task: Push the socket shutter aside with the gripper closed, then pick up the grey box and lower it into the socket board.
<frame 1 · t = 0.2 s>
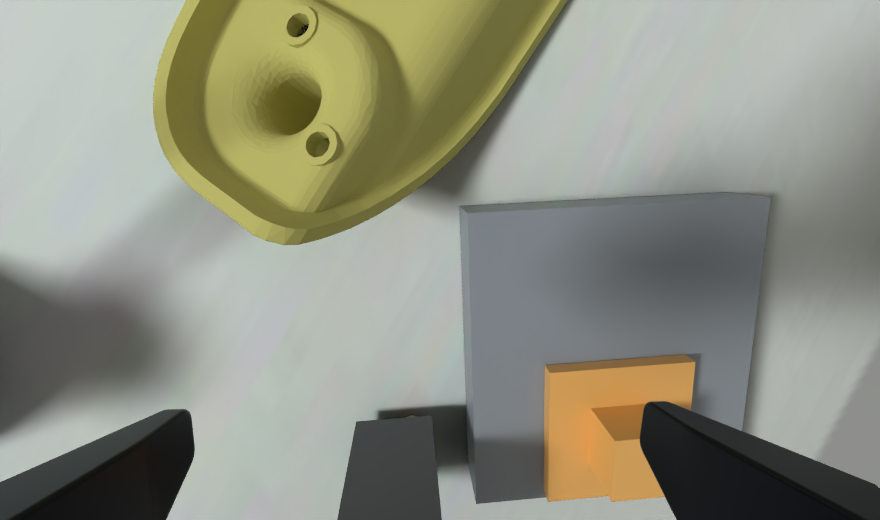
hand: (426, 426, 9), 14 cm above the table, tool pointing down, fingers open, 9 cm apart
grey box: (397, 439, 25), on the table
socket shutter: (628, 444, 20), point 5 cm above the table, slide at 0.0 cm
socket board: (590, 335, 24), on the table
plastic component: (386, 14, 20), on the table
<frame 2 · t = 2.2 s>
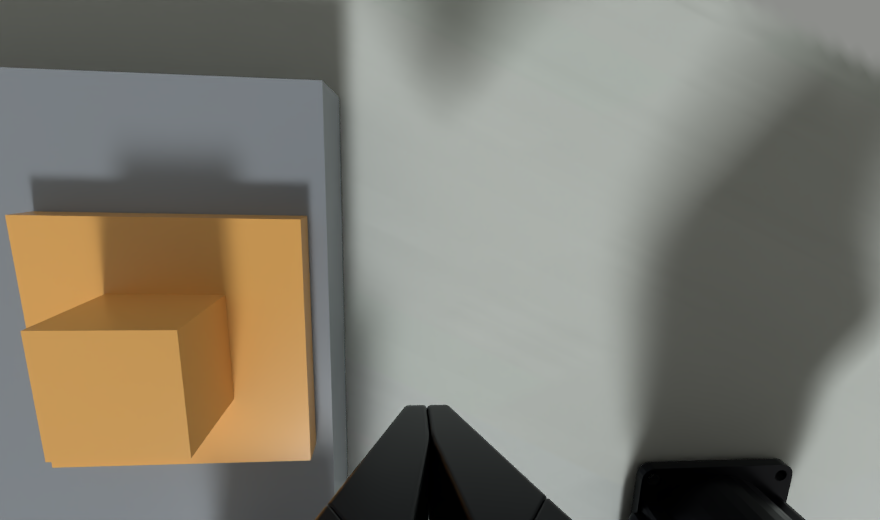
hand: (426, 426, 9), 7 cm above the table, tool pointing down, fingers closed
socket shutter: (153, 362, 11), point 5 cm above the table, slide at 0.0 cm
socket board: (122, 303, 15), on the table
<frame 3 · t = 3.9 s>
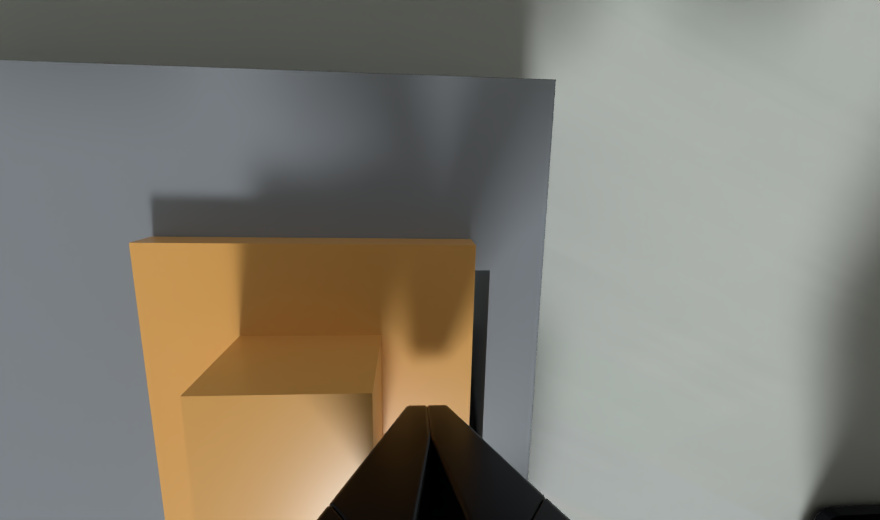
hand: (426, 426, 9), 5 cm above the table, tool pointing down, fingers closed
socket shutter: (305, 420, 9), point 5 cm above the table, slide at 1.2 cm, touching gripper
socket board: (264, 334, 13), on the table
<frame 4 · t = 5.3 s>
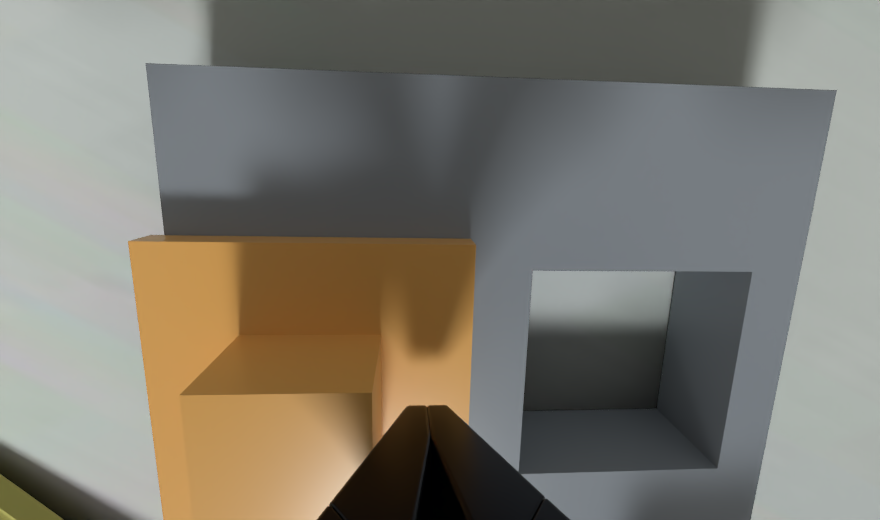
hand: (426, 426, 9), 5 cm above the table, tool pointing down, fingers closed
socket shutter: (304, 420, 9), point 5 cm above the table, slide at 7.8 cm, touching gripper
socket board: (476, 332, 14), on the table
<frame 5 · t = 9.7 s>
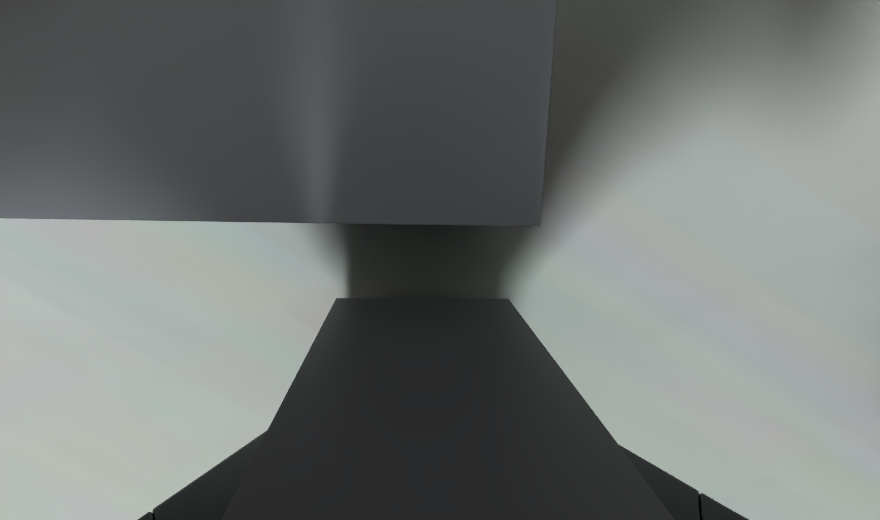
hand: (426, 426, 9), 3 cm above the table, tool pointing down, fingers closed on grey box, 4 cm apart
grey box: (420, 359, 12), on the table, touching gripper
when the fingers open (4 cm above the table, at t = 13.7 s): grey box stays where it is, resting in socket board.
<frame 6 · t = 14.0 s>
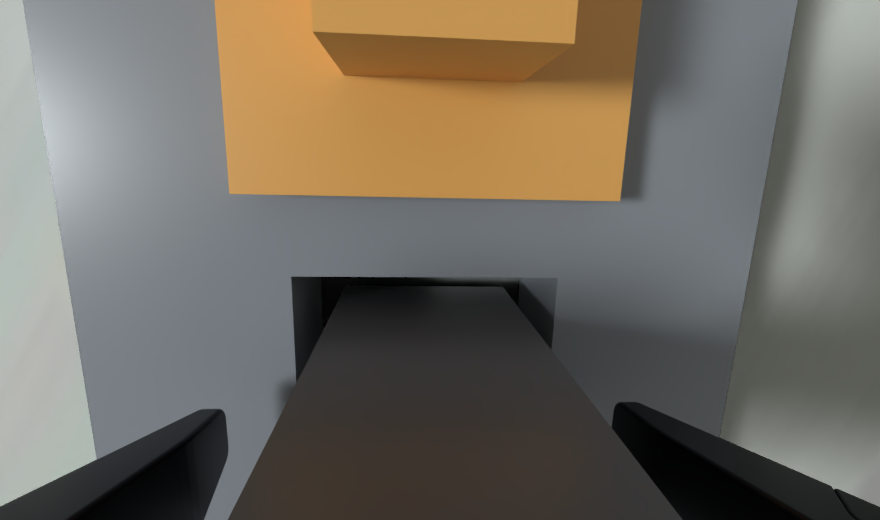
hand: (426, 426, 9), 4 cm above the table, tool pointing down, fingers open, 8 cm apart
grey box: (422, 344, 13), resting in socket board
socket board: (423, 222, 12), on the table
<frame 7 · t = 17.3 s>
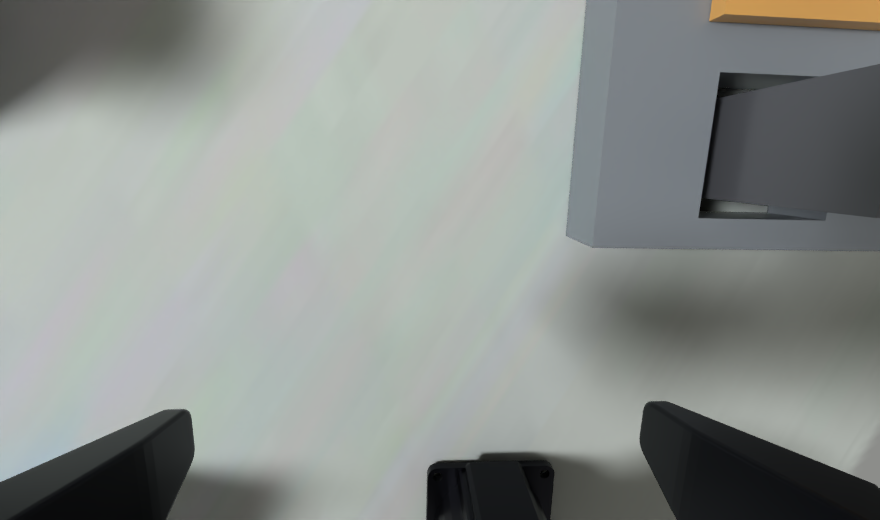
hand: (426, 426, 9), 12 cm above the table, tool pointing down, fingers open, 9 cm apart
grey box: (722, 152, 20), resting in socket board
socket board: (734, 70, 19), on the table
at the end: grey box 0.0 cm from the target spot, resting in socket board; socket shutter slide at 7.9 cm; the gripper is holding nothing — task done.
